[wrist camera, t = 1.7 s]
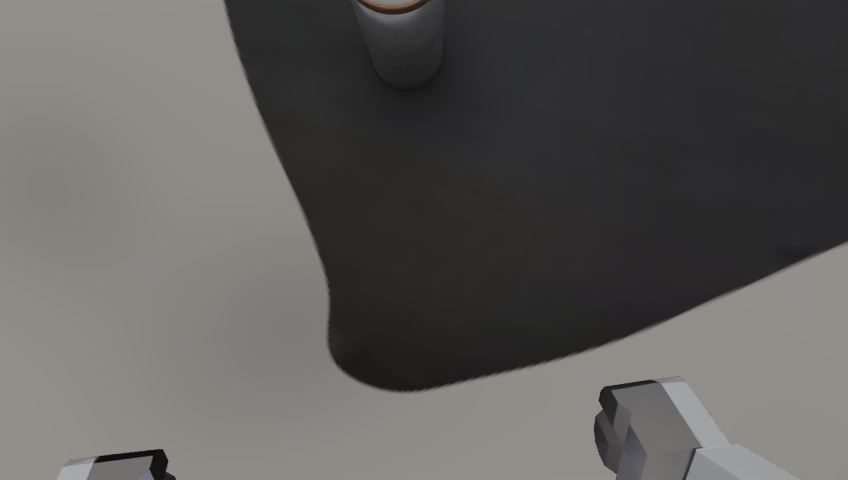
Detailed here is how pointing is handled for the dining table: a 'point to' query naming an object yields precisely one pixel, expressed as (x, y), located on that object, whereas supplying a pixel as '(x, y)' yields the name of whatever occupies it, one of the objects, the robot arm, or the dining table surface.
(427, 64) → the silver peg
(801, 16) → the dining table surface
